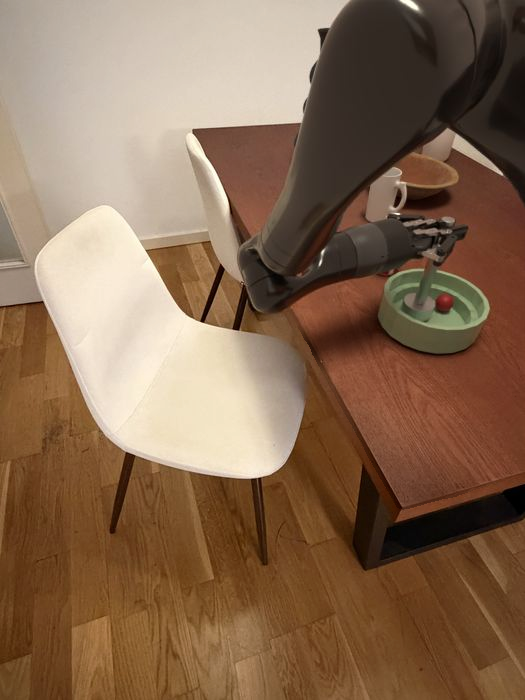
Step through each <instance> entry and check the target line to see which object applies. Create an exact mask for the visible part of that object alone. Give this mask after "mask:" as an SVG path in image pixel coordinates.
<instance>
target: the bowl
mask: <svg viewBox="0 0 525 700" xmlns="http://www.w3.org/2000/svg"><path fill="white" fill-rule="evenodd" d="M394 167H395V168H398V169H400V170H401V171H402V174H401V179H400V182H406V190H407V197H406V200H410V201H418V200H419V201H420V200H423V199H425V198H428V197H431V196H434V195H436V194H438V193H440V192H441V191H444V190H445V189H447V188H450V187H452V186H454V185H456V184H457V183H458V182H459V180H460V179H459V178H460V176H459V173H458V170H456V169H455V168H454V167H452V166H450V165H449V164H447V163H445V161H443V162H442V161H440V160H438V159H435V158H432V157H429V156H426V155H422V153H417V152H415V151H414V152H412V153H411V154H410V155H408V156H407V157H405V158H404V159H403V160H402V161H400V162H399V163H398V164H396V165H395V166H394ZM396 197H398V198H401V199H402V192H401V190H400V189H399V188H398V190H397V194H396Z"/></svg>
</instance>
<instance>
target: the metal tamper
mask: <svg viewBox="0 0 525 700" xmlns="http://www.w3.org/2000/svg"><path fill="white" fill-rule="evenodd" d="M452 217H453V216H448V215H447V216H443V217H441V222H440V225H439V228H438V230H442V229H448V228H451V227H453V226H455V225H454V223H455V224H456V222H455V219H456V218H455V217H453V218H452ZM454 218H455V219H454ZM440 240H441V237H440V238H439V241H440ZM433 261H434V260H432V259H429V258H427V261H426V263H425V267H424V268H423V269H424V272H423V275H422V278H421V281H420V284H419V287H418V290H417V293H410V294H407V295H406V296H405V297H404V300H403V303H402V306H401V311H402V312H404V313H405V314H407V315H409V316H410V317H412V318H414V319H416V320H419V321H426V320H428V319H430V318H431V316H432V313H433V311H434V308H435V302H434V300H433V299H432V298H431V297H429V296H428V294H429V291H430V288H431V286H432V283H433V280H434V278H435V275H436V272H437V270H438V269H439V267H437V266H434V265H433Z"/></svg>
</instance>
